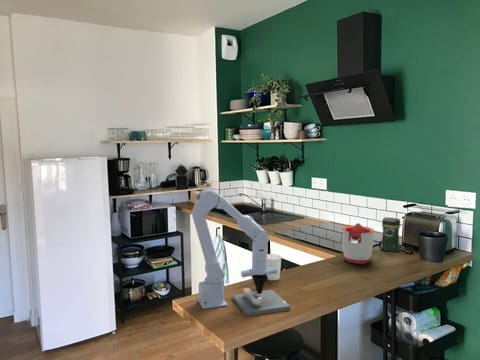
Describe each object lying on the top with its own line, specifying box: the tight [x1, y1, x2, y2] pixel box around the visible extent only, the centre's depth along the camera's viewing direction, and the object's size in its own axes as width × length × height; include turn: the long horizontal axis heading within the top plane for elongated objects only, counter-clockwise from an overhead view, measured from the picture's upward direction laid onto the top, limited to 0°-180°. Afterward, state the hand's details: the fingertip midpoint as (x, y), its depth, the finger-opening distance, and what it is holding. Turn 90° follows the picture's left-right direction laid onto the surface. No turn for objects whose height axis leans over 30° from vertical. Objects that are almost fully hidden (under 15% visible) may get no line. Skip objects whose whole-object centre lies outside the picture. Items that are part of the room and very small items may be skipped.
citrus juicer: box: [341, 222, 375, 265], centre depth 201 cm, size 16×17×20 cm
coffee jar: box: [380, 216, 401, 253], centre depth 222 cm, size 10×8×19 cm
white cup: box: [266, 253, 282, 281], centre depth 177 cm, size 8×8×10 cm
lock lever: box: [242, 287, 262, 308], centre depth 148 cm, size 12×4×3 cm, turn 21°
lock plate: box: [232, 289, 291, 317], centre depth 149 cm, size 17×16×6 cm
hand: (259, 292), depth 153 cm, fingers closed
